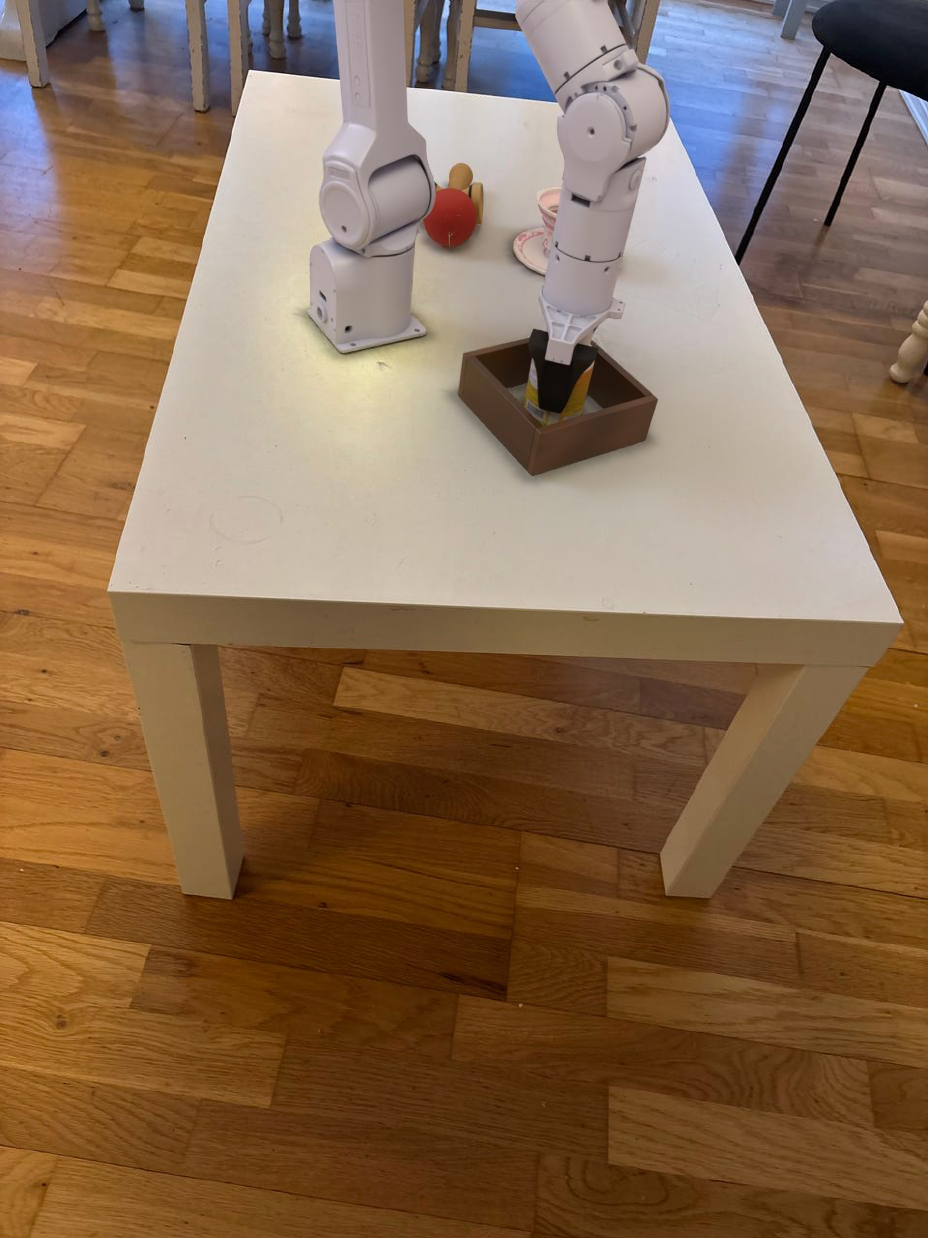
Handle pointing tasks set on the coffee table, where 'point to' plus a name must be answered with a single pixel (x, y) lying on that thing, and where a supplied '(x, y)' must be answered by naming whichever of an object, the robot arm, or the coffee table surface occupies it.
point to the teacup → (539, 233)
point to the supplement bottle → (574, 402)
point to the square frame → (564, 440)
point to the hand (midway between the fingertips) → (556, 390)
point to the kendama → (456, 208)
